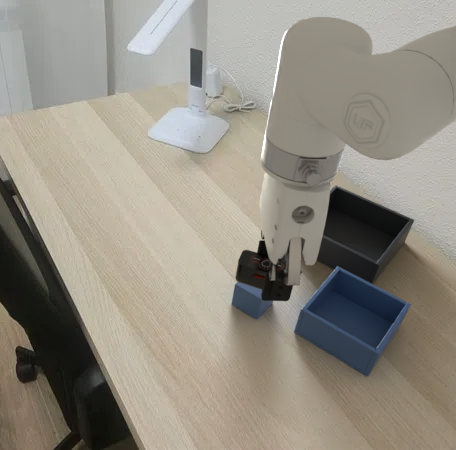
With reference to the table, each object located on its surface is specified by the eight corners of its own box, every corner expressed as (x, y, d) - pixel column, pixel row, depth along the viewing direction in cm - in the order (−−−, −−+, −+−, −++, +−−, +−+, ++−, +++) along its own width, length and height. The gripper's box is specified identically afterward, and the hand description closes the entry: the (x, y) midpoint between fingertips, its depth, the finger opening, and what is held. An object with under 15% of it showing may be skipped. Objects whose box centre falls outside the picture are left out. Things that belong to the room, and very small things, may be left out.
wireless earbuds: (292, 301, 64) (298, 282, 61) (233, 282, 65) (236, 263, 63) (301, 275, 67) (306, 256, 65) (244, 258, 69) (247, 238, 67)
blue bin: (400, 326, 80) (411, 304, 77) (367, 377, 73) (378, 354, 70) (329, 288, 85) (337, 265, 82) (293, 332, 79) (300, 309, 75)
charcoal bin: (404, 242, 94) (414, 219, 91) (370, 288, 86) (379, 265, 82) (328, 206, 101) (335, 184, 97) (289, 246, 92) (295, 223, 89)
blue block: (272, 302, 83) (278, 282, 80) (256, 320, 80) (261, 299, 77) (247, 287, 85) (251, 267, 82) (231, 304, 82) (234, 283, 79)
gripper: (364, 208, 47) (318, 340, 59) (320, 110, 60) (290, 235, 72) (276, 206, 47) (248, 339, 59) (252, 108, 60) (232, 234, 72)
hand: (271, 281), depth 65 cm, fingers closed on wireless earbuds, 4 cm apart
